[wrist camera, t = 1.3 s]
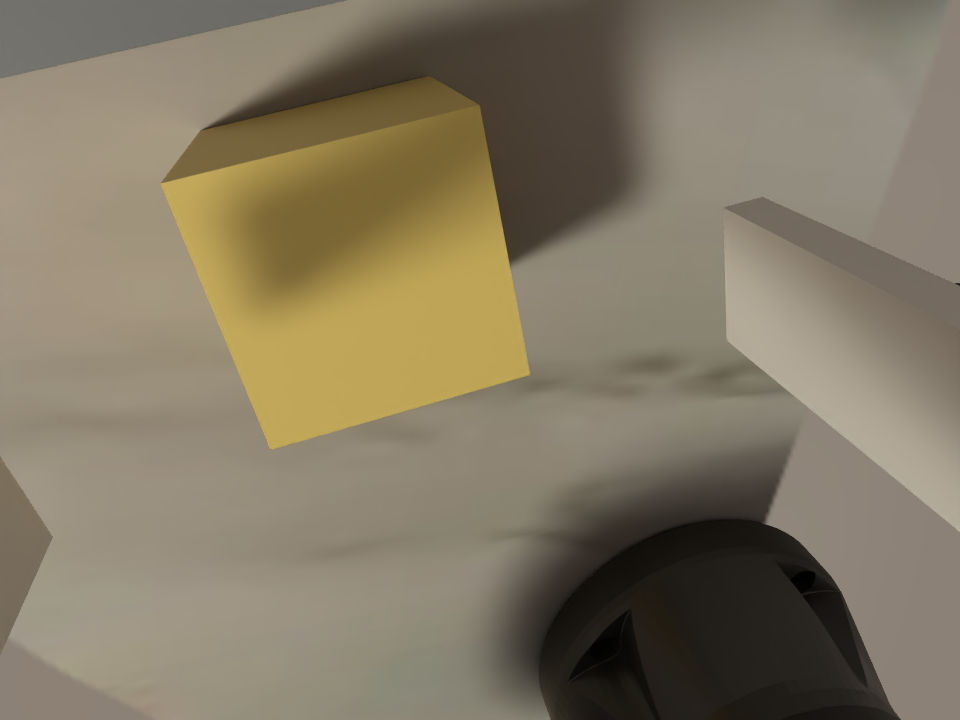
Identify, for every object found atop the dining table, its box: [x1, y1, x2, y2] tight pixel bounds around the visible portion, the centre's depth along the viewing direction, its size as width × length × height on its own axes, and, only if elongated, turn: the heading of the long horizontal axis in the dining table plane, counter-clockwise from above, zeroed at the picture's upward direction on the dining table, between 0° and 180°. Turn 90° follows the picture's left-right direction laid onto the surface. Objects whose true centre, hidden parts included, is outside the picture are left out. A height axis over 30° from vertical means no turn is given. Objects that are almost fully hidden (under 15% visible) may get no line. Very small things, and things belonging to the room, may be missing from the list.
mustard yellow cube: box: [161, 76, 530, 450], centre depth 20 cm, size 7×7×7 cm
